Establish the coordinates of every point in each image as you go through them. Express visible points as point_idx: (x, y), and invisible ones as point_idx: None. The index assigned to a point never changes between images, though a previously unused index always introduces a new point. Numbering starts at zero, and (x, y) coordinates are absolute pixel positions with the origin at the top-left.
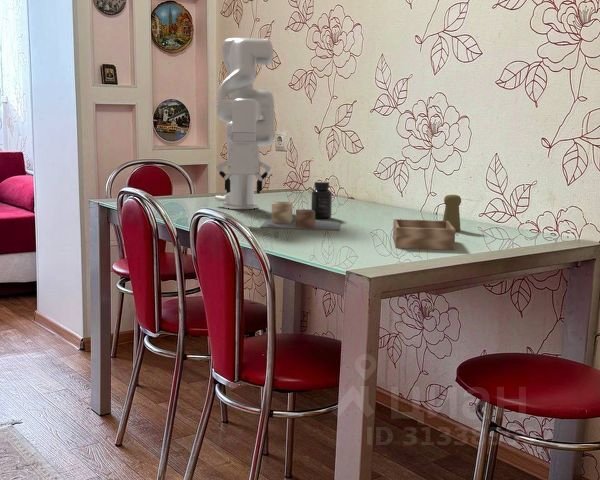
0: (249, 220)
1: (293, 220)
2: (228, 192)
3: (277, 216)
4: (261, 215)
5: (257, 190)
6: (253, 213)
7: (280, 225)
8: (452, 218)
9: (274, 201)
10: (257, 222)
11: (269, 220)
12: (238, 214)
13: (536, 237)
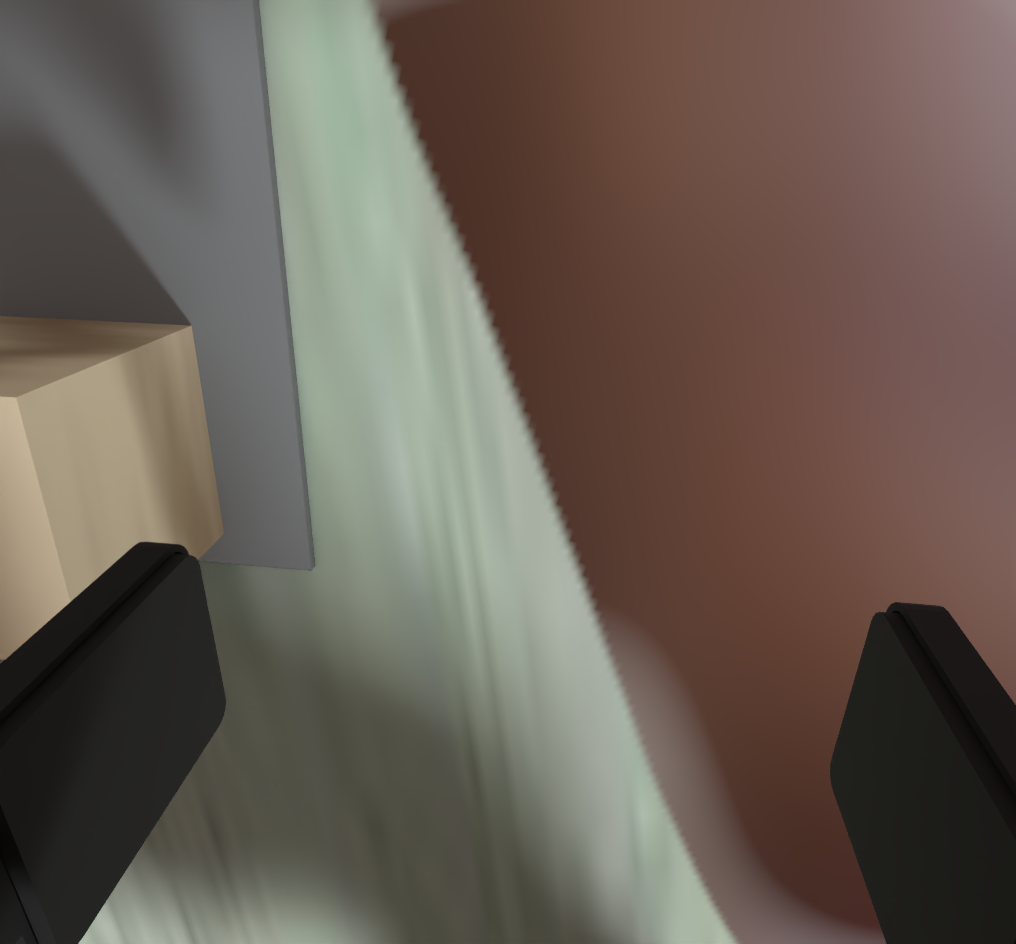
0: (493, 528)
1: None
2: (882, 632)
3: (70, 340)
4: (418, 827)
5: (143, 575)
6: (508, 918)
7: (22, 99)
8: None
9: None
10: (379, 396)
11: (256, 486)
12: (647, 867)
13: None
